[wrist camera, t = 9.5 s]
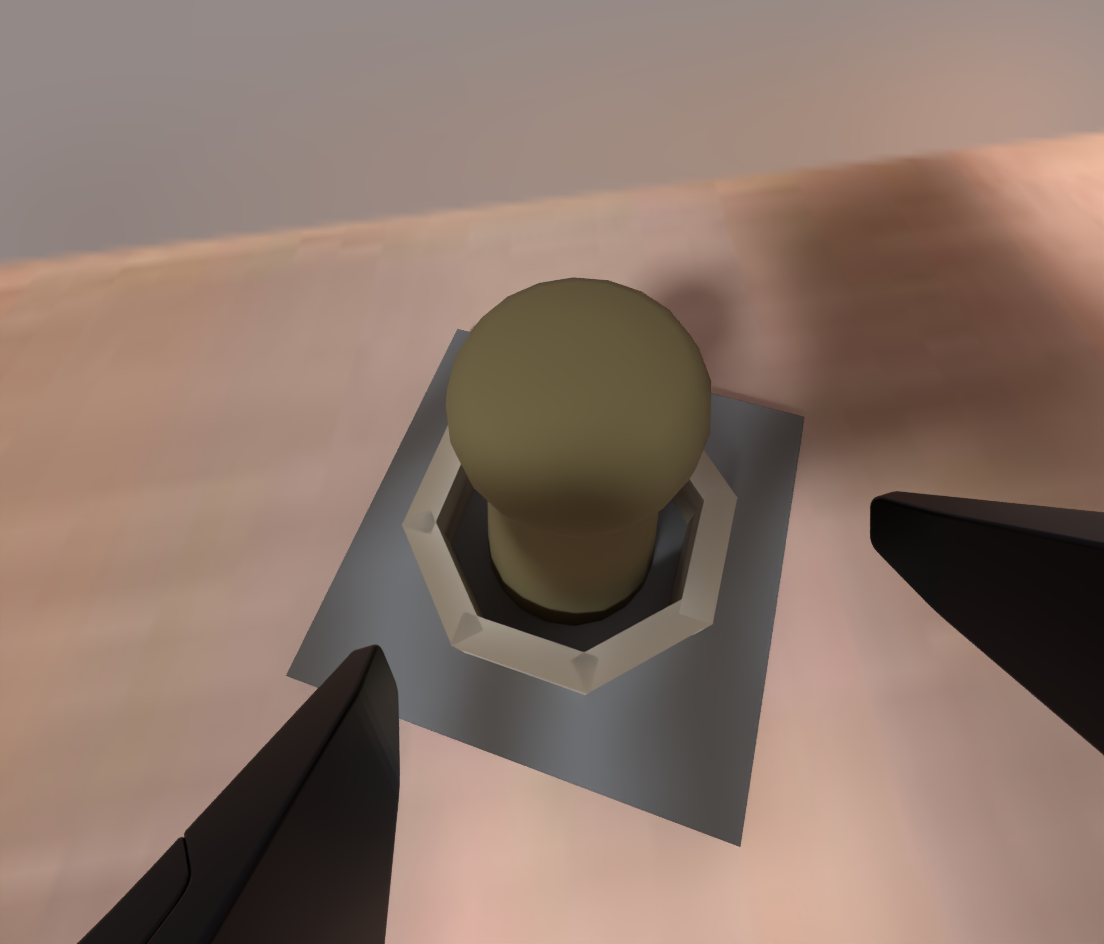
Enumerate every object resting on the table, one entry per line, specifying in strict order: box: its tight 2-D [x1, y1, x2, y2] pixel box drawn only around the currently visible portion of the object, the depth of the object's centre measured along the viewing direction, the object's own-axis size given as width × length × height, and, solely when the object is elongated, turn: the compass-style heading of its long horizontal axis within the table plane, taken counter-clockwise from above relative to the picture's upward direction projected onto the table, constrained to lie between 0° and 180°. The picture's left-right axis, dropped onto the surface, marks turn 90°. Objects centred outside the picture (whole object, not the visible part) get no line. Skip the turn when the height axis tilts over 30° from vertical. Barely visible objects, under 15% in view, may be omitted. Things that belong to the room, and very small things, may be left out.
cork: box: [446, 278, 711, 626], centre depth 14 cm, size 6×6×11 cm
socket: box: [286, 329, 804, 847], centre depth 18 cm, size 15×15×4 cm
